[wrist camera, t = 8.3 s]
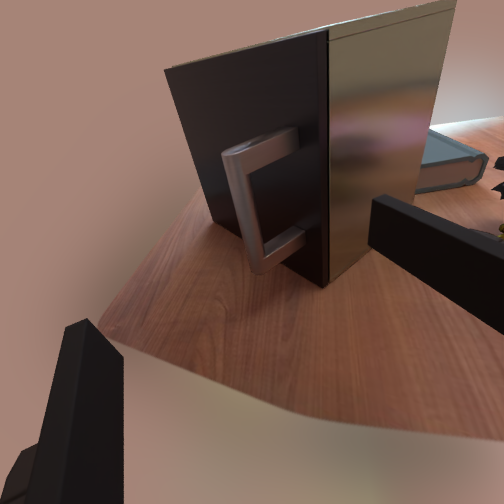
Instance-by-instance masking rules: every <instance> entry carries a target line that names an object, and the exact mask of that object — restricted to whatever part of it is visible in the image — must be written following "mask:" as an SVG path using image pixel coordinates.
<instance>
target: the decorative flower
mask: <svg viewBox="0 0 504 504" xmlns="http://www.w3.org/2000/svg"><path fill="white" fill-rule="evenodd" d="M495 164H496V165H495V166H494V167H493V168H495V169H499V170H504V156H503V157H499V158H498V159H497V161H496V163H495ZM496 167H497V168H496ZM491 190H496V191H499V192H501V194H502V195H501V199H504V182H503V183H501V184H499V185H497V186H496V187H494V188H493V189H491ZM501 199H500V200H501ZM499 230H500V232H502V233H504V224H502V225H500V227H499ZM493 235H494V234H493ZM497 237H500V238H502V239H503V240H504V234H501V235H499V236H497Z"/></svg>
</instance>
